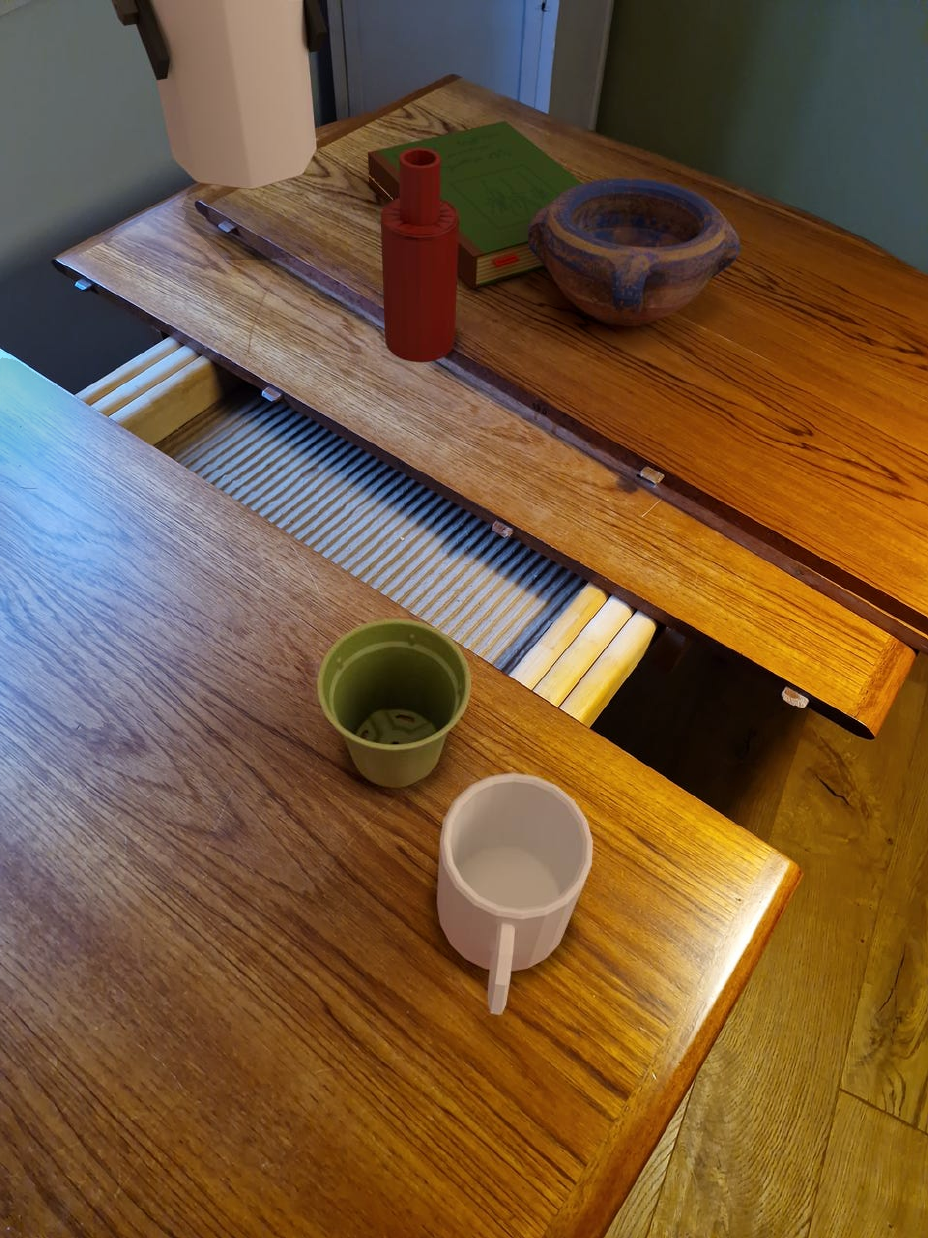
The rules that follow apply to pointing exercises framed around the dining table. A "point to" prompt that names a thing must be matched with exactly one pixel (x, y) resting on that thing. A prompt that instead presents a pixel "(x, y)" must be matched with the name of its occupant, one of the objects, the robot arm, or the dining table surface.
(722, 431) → the dining table surface
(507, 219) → the book
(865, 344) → the dining table surface
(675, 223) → the bowl
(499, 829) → the mug
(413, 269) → the sauce bottle
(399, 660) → the plant pot
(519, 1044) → the dining table surface
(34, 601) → the dining table surface
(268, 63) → the cup
